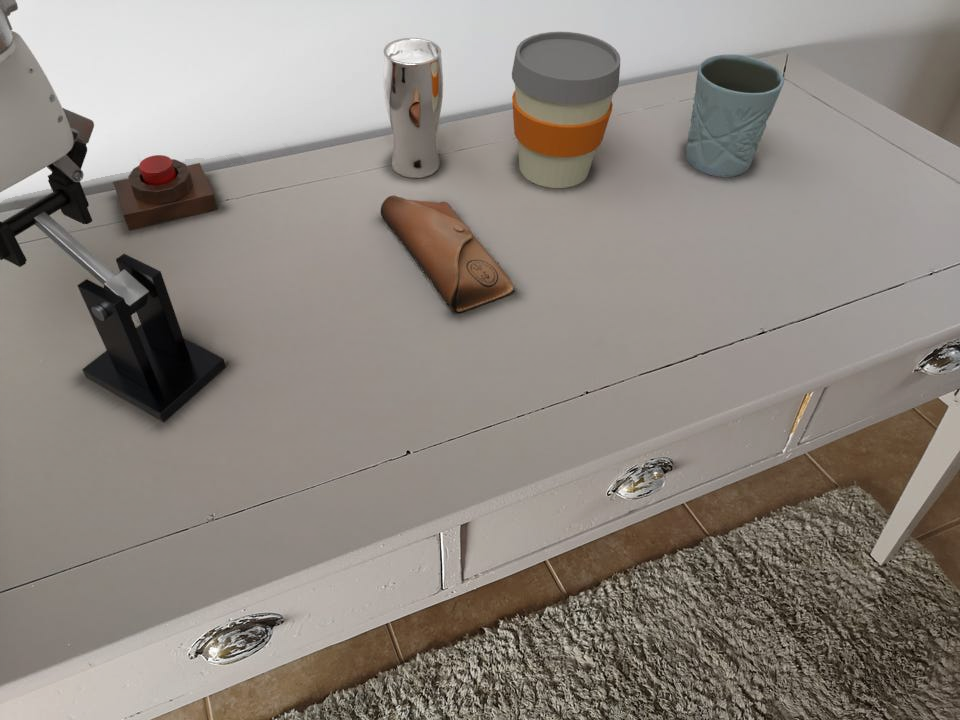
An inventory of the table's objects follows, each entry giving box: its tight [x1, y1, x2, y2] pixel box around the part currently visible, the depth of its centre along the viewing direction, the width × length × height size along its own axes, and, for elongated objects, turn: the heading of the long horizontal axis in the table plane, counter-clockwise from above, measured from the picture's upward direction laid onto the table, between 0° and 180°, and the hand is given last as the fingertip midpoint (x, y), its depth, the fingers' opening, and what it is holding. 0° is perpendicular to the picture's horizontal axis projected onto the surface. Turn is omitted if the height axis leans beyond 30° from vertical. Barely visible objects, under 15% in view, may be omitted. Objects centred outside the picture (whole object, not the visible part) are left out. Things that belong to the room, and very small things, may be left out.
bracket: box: [77, 253, 227, 422], centre depth 69 cm, size 10×8×12 cm
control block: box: [112, 158, 219, 231], centre depth 90 cm, size 10×7×4 cm
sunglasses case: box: [380, 194, 516, 313], centre depth 86 cm, size 18×7×7 cm, turn 29°
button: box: [138, 154, 176, 185], centre depth 88 cm, size 4×4×2 cm
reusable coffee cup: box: [511, 31, 621, 189], centre depth 94 cm, size 13×12×15 cm
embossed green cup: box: [685, 54, 785, 178], centre depth 98 cm, size 10×10×12 cm
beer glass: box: [382, 37, 444, 179], centre depth 93 cm, size 7×7×15 cm
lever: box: [2, 189, 149, 316], centre depth 66 cm, size 12×6×2 cm, turn 60°
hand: (45, 236), depth 67 cm, fingers closed on lever, 6 cm apart
